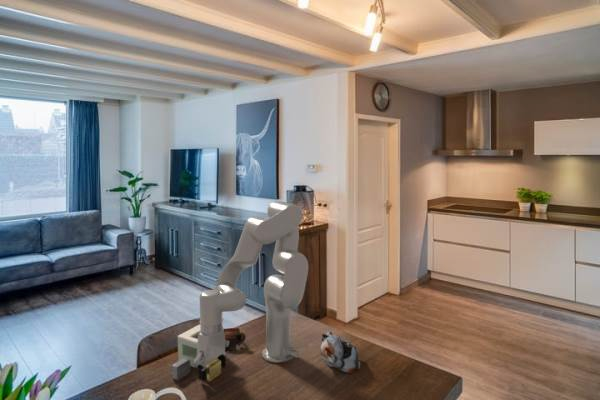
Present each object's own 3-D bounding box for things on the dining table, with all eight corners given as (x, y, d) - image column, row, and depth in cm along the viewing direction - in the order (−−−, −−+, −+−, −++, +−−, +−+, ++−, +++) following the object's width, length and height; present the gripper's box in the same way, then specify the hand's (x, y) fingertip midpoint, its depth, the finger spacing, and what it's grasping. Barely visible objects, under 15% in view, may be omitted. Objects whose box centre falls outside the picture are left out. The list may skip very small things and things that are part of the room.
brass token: (221, 373, 136) (220, 360, 136) (209, 382, 131) (209, 368, 130) (215, 371, 137) (215, 358, 137) (203, 379, 132) (203, 366, 132)
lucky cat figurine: (362, 375, 135) (347, 348, 130) (331, 385, 137) (315, 358, 132) (358, 344, 149) (344, 318, 144) (329, 353, 151) (315, 327, 146)
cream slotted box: (224, 355, 148) (223, 330, 147) (202, 370, 138) (201, 343, 137) (201, 347, 154) (200, 323, 153) (178, 361, 144) (177, 336, 143)
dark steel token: (190, 372, 137) (189, 359, 136) (177, 380, 132) (176, 367, 131) (185, 370, 138) (184, 357, 137) (172, 378, 133) (171, 365, 132)
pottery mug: (214, 350, 153) (215, 329, 156) (227, 350, 161) (228, 330, 164) (240, 348, 149) (240, 326, 152) (252, 348, 157) (252, 327, 160)
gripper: (220, 315, 141) (221, 358, 143) (184, 334, 126) (186, 382, 128) (236, 319, 138) (236, 364, 140) (201, 339, 123) (202, 389, 125)
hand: (212, 373), depth 134 cm, fingers open, 9 cm apart
